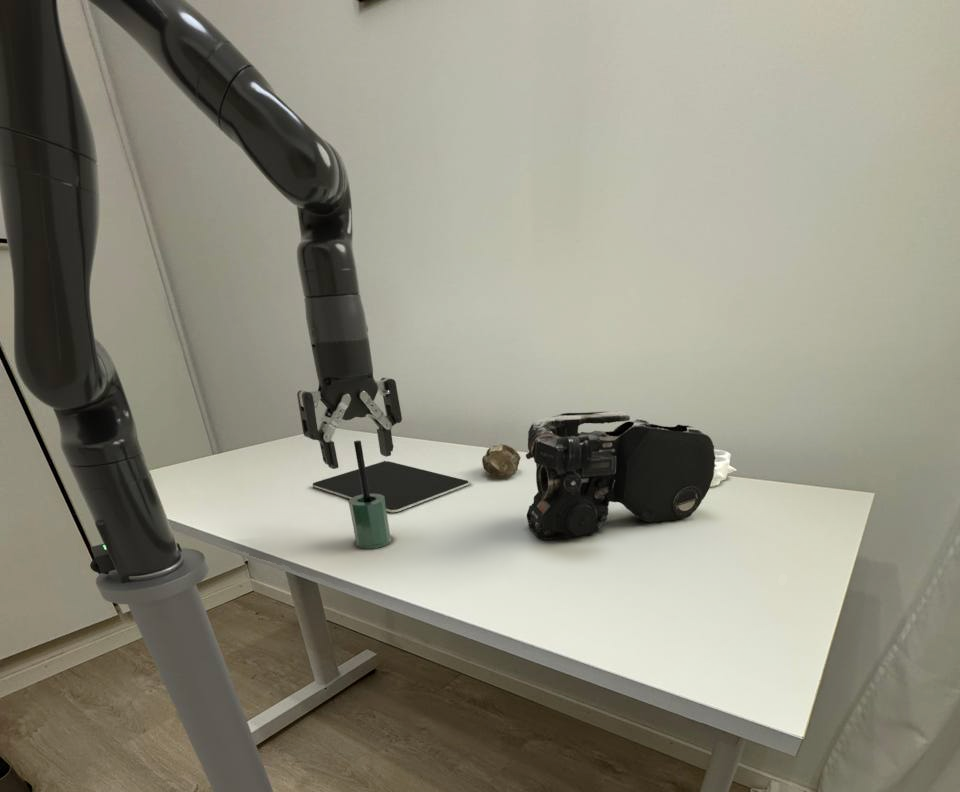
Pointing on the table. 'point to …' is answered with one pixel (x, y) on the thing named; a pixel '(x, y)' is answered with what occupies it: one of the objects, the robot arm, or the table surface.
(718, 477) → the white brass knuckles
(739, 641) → the table surface
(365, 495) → the stylus
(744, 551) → the table surface
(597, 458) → the movie camera
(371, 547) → the holder
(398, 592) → the table surface
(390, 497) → the tablet
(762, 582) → the table surface
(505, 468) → the brown rock
